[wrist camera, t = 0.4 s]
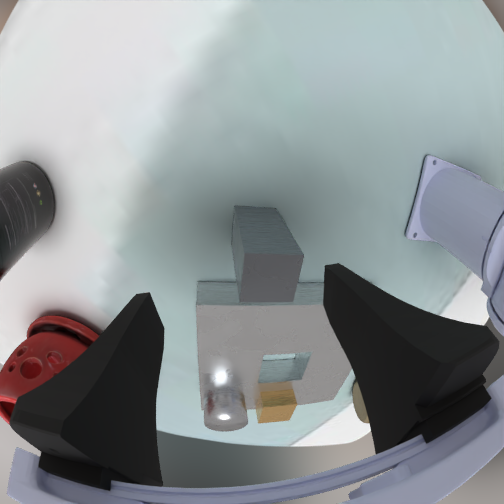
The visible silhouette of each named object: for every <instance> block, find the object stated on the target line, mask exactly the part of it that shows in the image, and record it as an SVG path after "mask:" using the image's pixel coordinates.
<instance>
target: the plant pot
mask: <svg viewBox="0 0 504 504" xmlns="http://www.w3.org/2000/svg"><path fill="white" fill-rule="evenodd" d="M98 337H99V335H98V334H96V333H95V332H94V331H92V330H91V329H89V328H88V327H86V326H84V325H83V324H81V323H78V322H76V321H74V320H71V319H68V318H65V317H61V316H44V317H41V318H38V319H37V320H35V321H34V322H33V323H32V324H31V325H30V326H29V328H28V331H27V339H26V340H25V341H24V342H22V343H21V344H20V345H19V346H18V347H17V348H16V349H15V350H14V351H13V353H12V354H11V355H10V357H9V358H8V360H7V361H6V363H5V364H4V366H3V368H2V370H1V372H0V416H1V417H2V418H3V419H4V420H5V421H6V422H7V423H8V424H9V421H10V418H11V415H12V412H13V409H14V406H15V403H16V401H17V398H18V397H19V396H21V395H23V394H25V393H27V392H29V391H31V390H33V389H35V388H36V387H38V386H40V385H41V384H43V383H45V382H46V381H48V380H49V379H51V378H52V377H54V376H55V375H56V374H58V373H59V372H60V371H62V370H63V369H64V368H65V367H67V366H68V365H69V364H70V363H72V362H73V361H74V360H75V359H77V358H78V357H79V356H80V355H81V354H82V353H83V352H84V351H85V350H86V349H87V348H88V347H89V346H90V345H91V344H92V343H93V342H94V341H95V340H96V339H97V338H98ZM9 425H10V424H9Z"/></svg>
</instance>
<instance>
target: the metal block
mask: <svg viewBox="0 0 504 504" xmlns="http://www.w3.org/2000/svg"><path fill="white" fill-rule="evenodd" d="M231 245H232V252H233V260H234V267H235V274H236V281H237V288H238V296H239V302H293V301H294V297H295V292H296V288H297V284H298V280H299V275H300V271H301V266H302V262H303V257H304V254H303V253H302V251H301V249H300V247H299V246H298V244H297V242H296V241H295V239H294V237H293V236H292V234H291V232H290V231H289V229H288V227H287V226H286V224H285V222H284V221H283V219H282V218H281V216H280V214H279V213H278V211H277V209H276V208H265V207H249V206H234V217H233V229H232V241H231Z"/></svg>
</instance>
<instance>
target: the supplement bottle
mask: <svg viewBox="0 0 504 504" xmlns="http://www.w3.org/2000/svg"><path fill="white" fill-rule="evenodd" d="M53 213H54V198H53V193H52V189H51V186H50V184H49V182H48V180H47V178H46V176H45V175H44V174H43V172H42V171H41V170H40V169H39V168H37V167H36V166H35V165H33V164H31V163H28V162H18V163H14V164H12V165H9V166H7V167H5V168H2V169H0V281H1V280H2V278H3V277H4V276H5V275H6V274H7V273H8V272H9V270H10V269H11V268H12V267H13V266H14V265H15V264H16V263H17V262H18V260H19V259H20V258H21V257H22V256H23V255H24V254H25V253H26V252H27V251H28V250H29V249H30V248H31V247H32V246H33V245H34V244H35V243H36V242H37V241H38V240H39V239H40V238H41V237H42V236H43V235H44V234H45V232H46V231H47V230H48V228H49V226H50V224H51V222H52V218H53Z"/></svg>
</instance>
